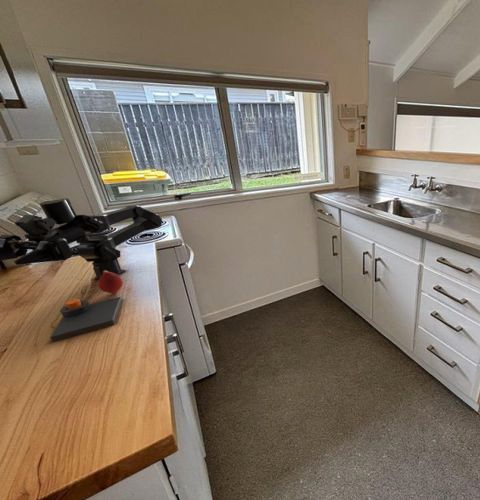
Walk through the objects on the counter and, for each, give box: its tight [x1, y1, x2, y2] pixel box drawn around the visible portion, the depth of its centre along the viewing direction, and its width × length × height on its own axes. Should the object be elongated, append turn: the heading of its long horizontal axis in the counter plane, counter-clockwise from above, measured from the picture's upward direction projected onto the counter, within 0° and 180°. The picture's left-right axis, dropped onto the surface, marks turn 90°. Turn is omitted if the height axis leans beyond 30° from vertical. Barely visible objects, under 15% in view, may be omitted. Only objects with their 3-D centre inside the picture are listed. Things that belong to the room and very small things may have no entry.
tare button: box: [65, 298, 82, 309], centre depth 76 cm, size 3×3×2 cm
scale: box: [49, 296, 123, 343], centre depth 75 cm, size 14×12×3 cm
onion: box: [97, 271, 124, 295], centre depth 87 cm, size 6×6×8 cm
